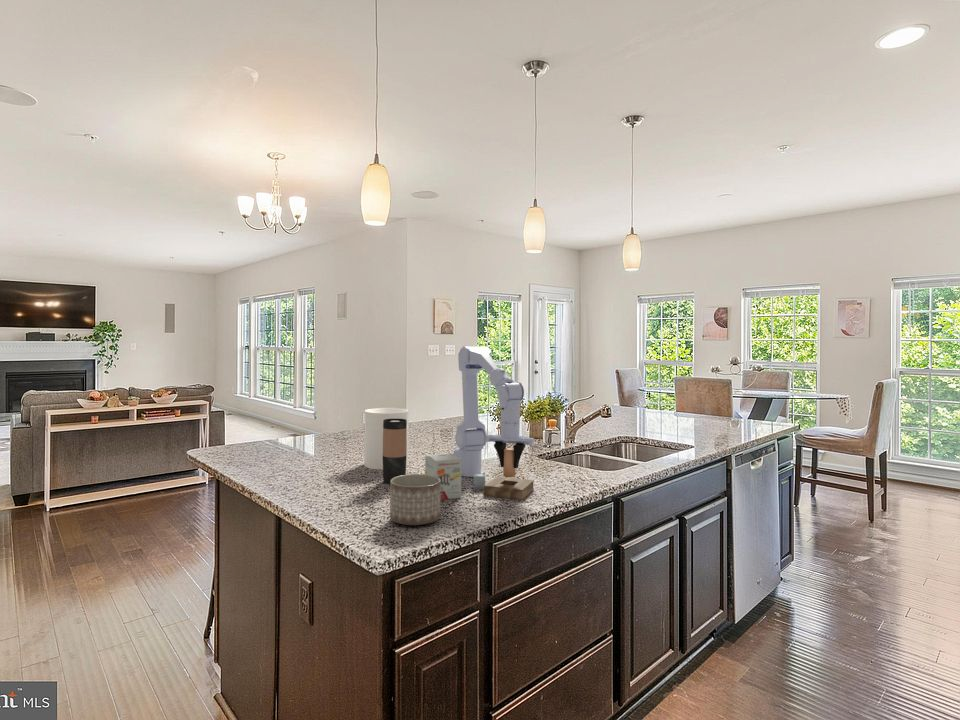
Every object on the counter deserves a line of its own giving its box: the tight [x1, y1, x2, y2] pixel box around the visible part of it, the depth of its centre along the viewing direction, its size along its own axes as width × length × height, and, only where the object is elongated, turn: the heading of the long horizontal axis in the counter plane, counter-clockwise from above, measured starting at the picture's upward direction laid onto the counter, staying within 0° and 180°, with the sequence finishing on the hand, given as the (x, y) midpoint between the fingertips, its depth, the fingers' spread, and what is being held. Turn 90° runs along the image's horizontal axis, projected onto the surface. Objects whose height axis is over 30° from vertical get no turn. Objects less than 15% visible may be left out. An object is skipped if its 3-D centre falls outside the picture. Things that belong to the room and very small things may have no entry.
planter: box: [389, 473, 441, 526], centre depth 136 cm, size 13×13×10 cm
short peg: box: [473, 474, 486, 491], centre depth 167 cm, size 4×4×4 cm
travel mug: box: [382, 419, 407, 485], centre depth 174 cm, size 8×8×20 cm
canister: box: [363, 407, 410, 471], centre depth 198 cm, size 16×16×20 cm
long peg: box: [502, 447, 516, 478], centre depth 163 cm, size 4×4×8 cm
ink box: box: [424, 453, 462, 501], centre depth 159 cm, size 9×9×12 cm
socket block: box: [483, 475, 534, 501], centre depth 163 cm, size 12×12×3 cm
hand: (509, 466), depth 163 cm, fingers closed on long peg, 4 cm apart
